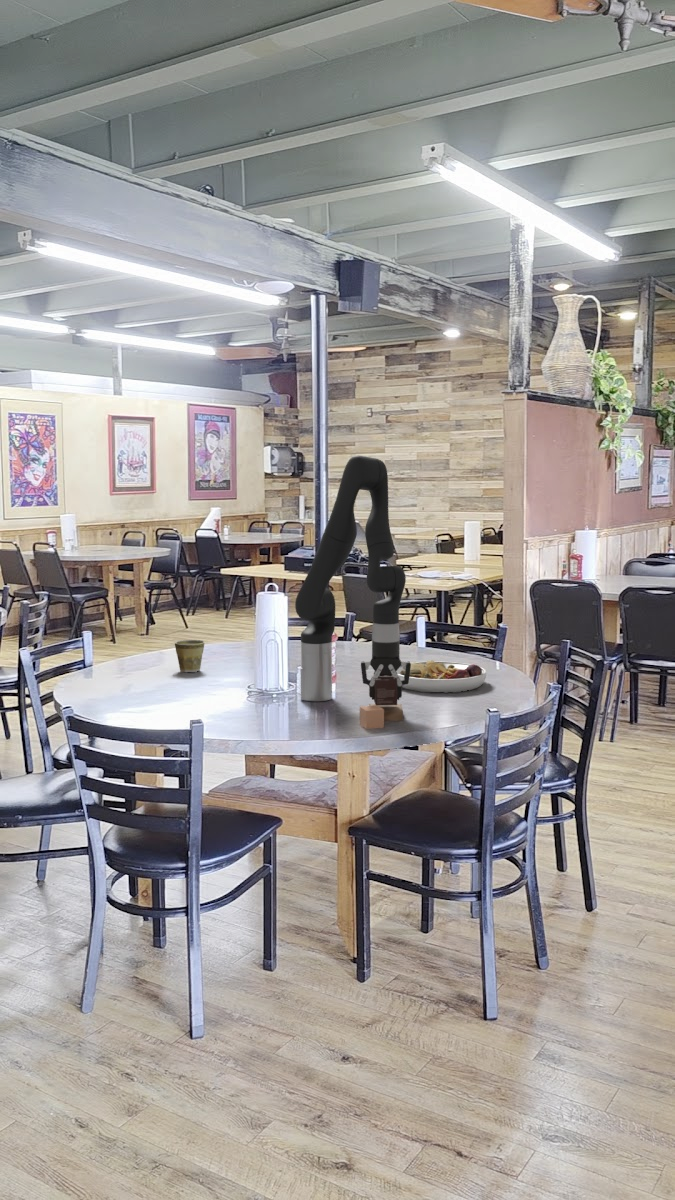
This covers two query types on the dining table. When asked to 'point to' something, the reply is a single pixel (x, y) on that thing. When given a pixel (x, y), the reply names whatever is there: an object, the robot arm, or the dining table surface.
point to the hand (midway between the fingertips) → (385, 698)
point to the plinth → (392, 712)
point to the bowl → (443, 676)
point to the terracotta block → (371, 717)
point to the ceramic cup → (189, 654)
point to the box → (385, 690)
